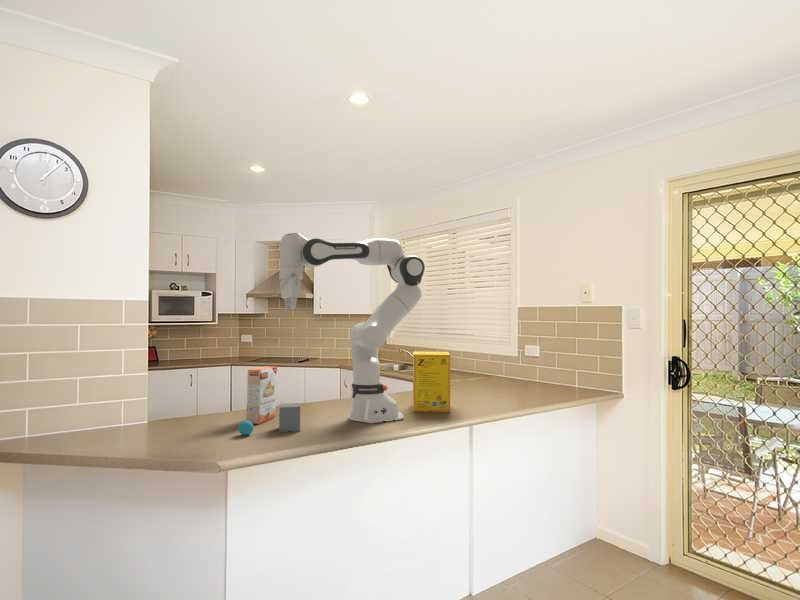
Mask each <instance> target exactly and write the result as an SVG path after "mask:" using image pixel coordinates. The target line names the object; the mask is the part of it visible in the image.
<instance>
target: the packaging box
mask: <svg viewBox="0 0 800 600" xmlns="http://www.w3.org/2000/svg"><path fill="white" fill-rule="evenodd" d="M412 355H413V356H412V357H413V358H412V359H413V360H412V364H413V365H412V366H413V367H412V370H413V372H412V378H413V379H412V411H413V412H428V411H432V412H431V413H433V412H435V413H436V412H437V413H438V412H439V413H440V412H443V413H446V412H448V413H451V354H450V353H449V351H413V354H412Z"/></svg>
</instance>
